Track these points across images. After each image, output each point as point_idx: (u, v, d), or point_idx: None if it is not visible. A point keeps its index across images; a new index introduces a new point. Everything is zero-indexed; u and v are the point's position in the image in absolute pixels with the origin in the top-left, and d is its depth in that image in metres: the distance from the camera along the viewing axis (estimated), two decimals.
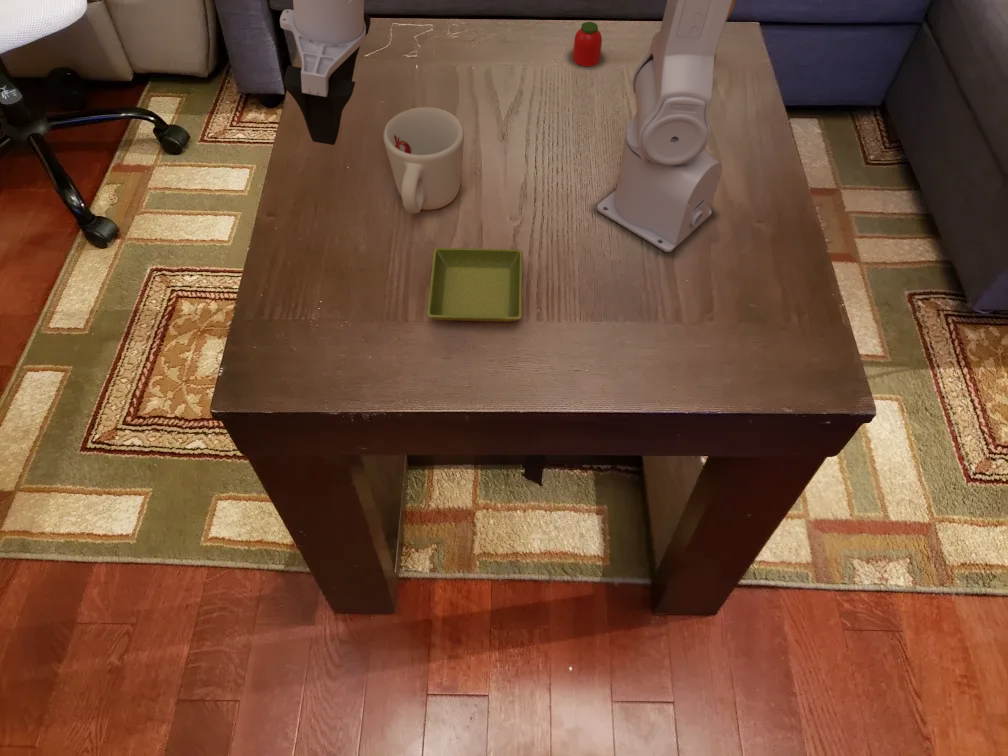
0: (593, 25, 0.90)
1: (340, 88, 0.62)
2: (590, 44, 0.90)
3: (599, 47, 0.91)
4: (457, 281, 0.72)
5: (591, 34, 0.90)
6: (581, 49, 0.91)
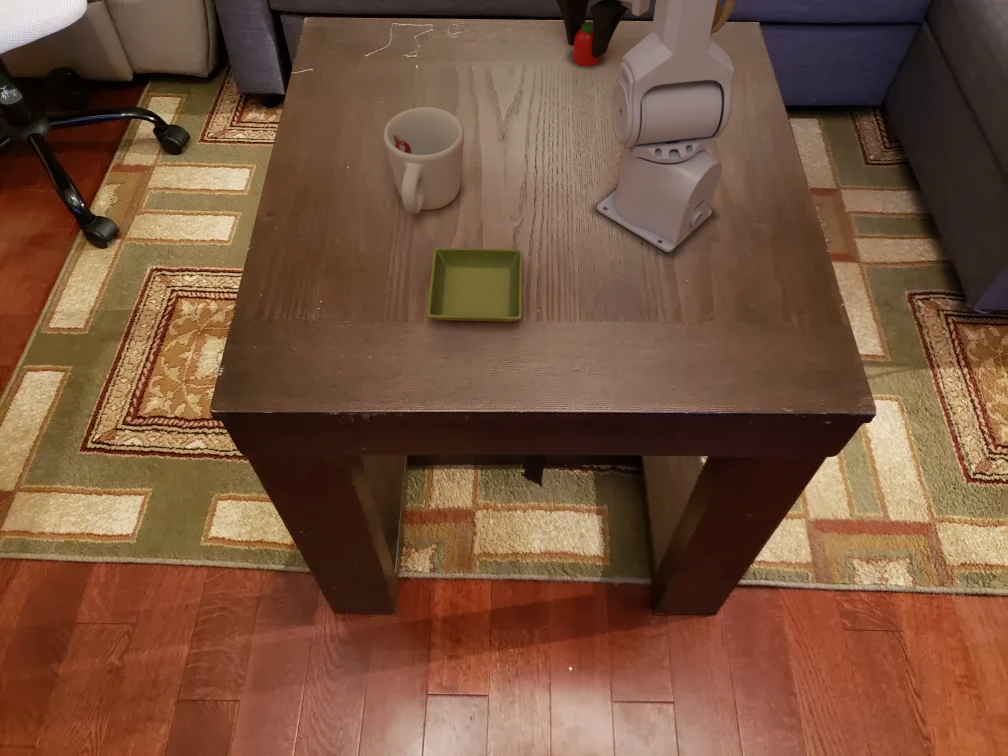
0: None
1: None
2: (590, 44, 0.90)
3: None
4: (457, 281, 0.72)
5: (591, 34, 0.90)
6: (581, 49, 0.91)
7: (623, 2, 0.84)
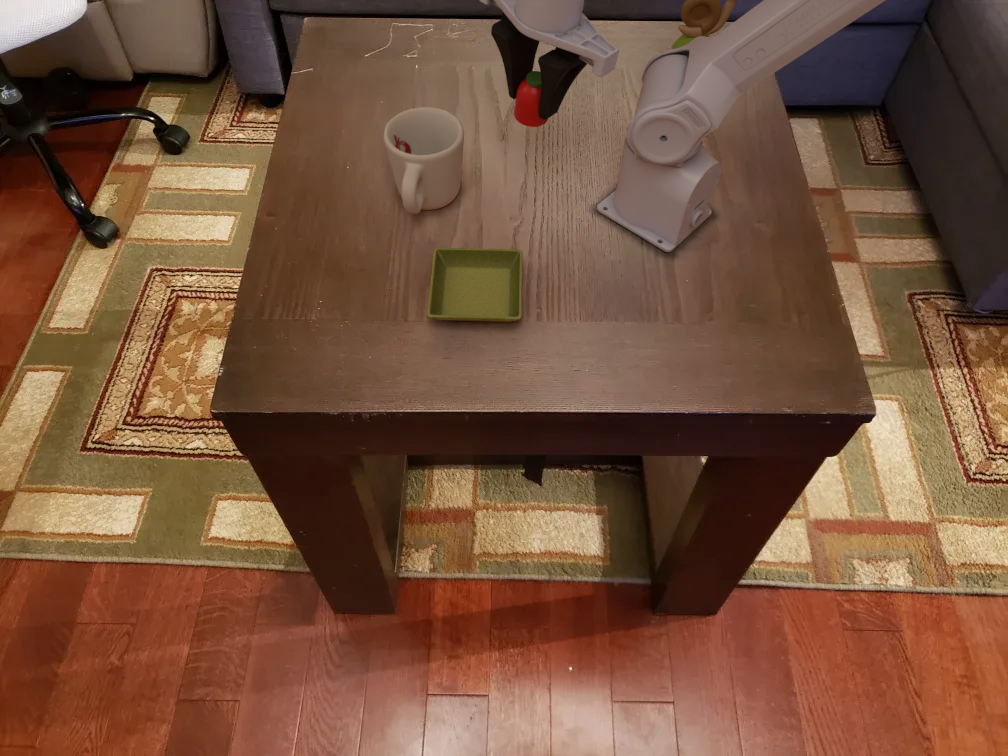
0: None
1: (502, 27, 0.66)
2: (536, 101, 0.69)
3: None
4: (457, 281, 0.72)
5: (539, 88, 0.69)
6: (524, 106, 0.70)
7: (582, 56, 0.63)
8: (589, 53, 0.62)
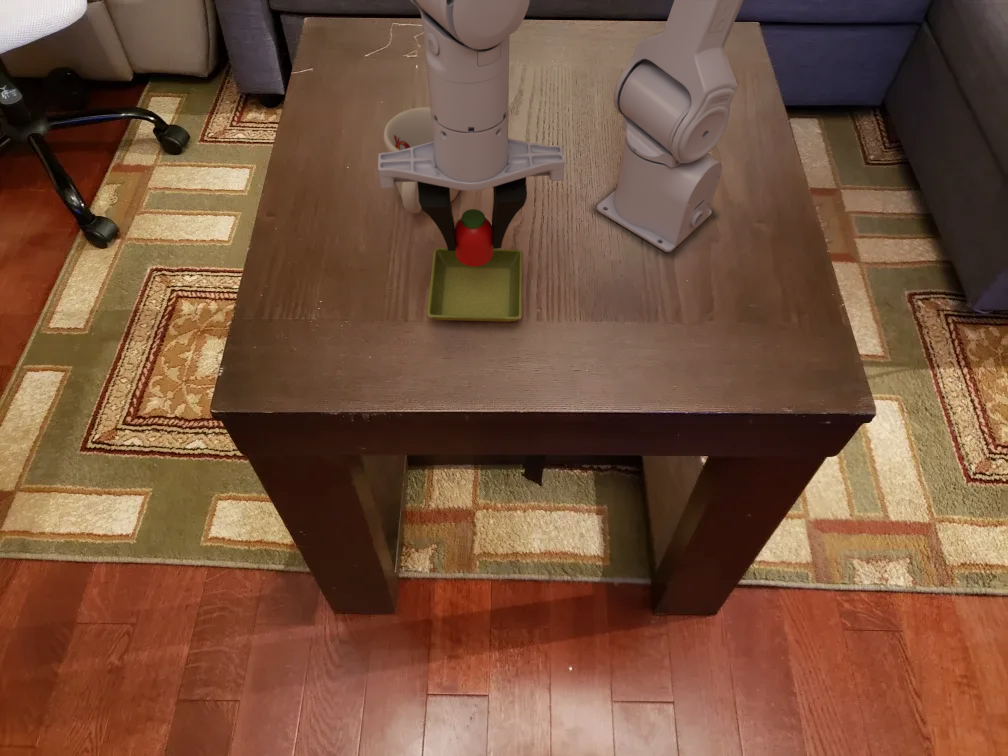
0: (475, 213, 0.63)
1: (430, 197, 0.58)
2: (487, 237, 0.63)
3: None
4: (457, 281, 0.72)
5: (483, 225, 0.63)
6: (478, 249, 0.64)
7: None
8: (546, 166, 0.57)
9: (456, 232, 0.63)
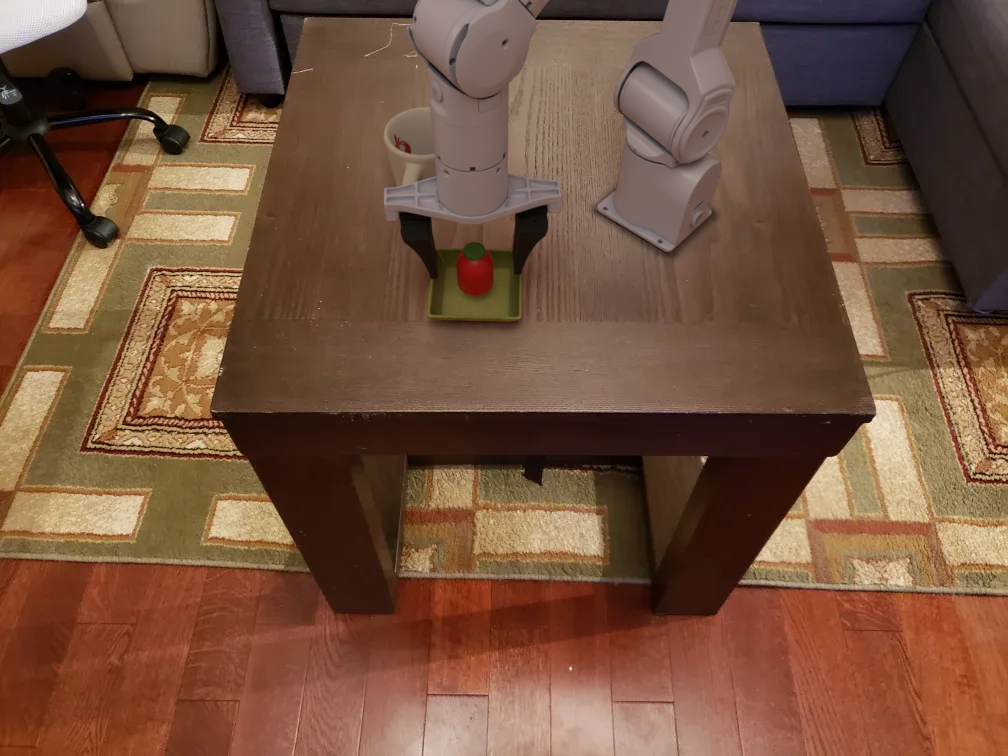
0: (477, 246, 0.66)
1: (411, 231, 0.61)
2: (488, 268, 0.67)
3: None
4: None
5: (483, 257, 0.66)
6: (479, 279, 0.67)
7: None
8: (543, 201, 0.60)
9: (458, 263, 0.67)
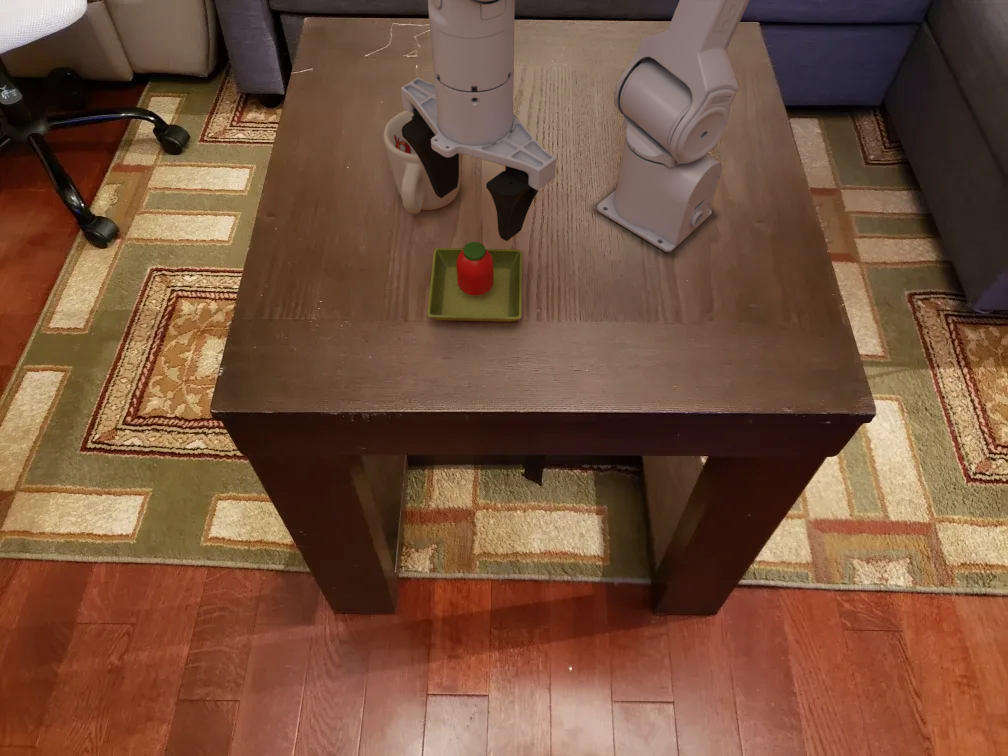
0: (477, 246, 0.66)
1: None
2: (488, 268, 0.67)
3: (493, 263, 0.68)
4: None
5: (483, 257, 0.66)
6: (479, 279, 0.67)
7: None
8: None
9: (458, 263, 0.67)
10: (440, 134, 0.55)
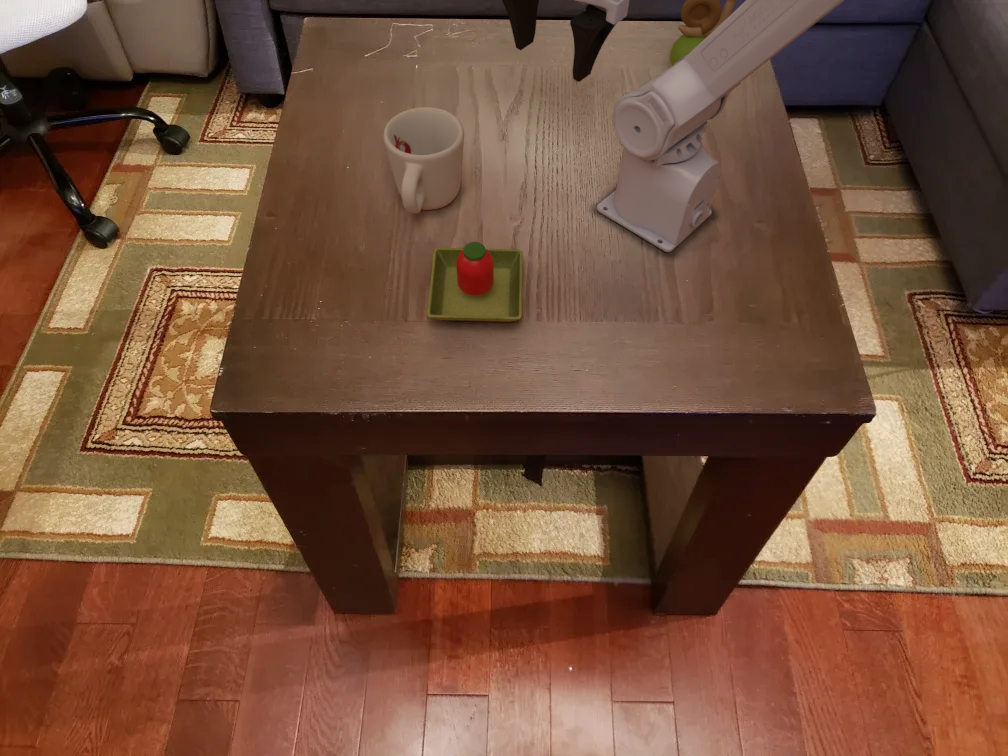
0: (477, 246, 0.66)
1: None
2: (488, 268, 0.67)
3: (493, 263, 0.68)
4: None
5: (483, 257, 0.66)
6: (479, 279, 0.67)
7: None
8: None
9: (458, 263, 0.67)
10: None
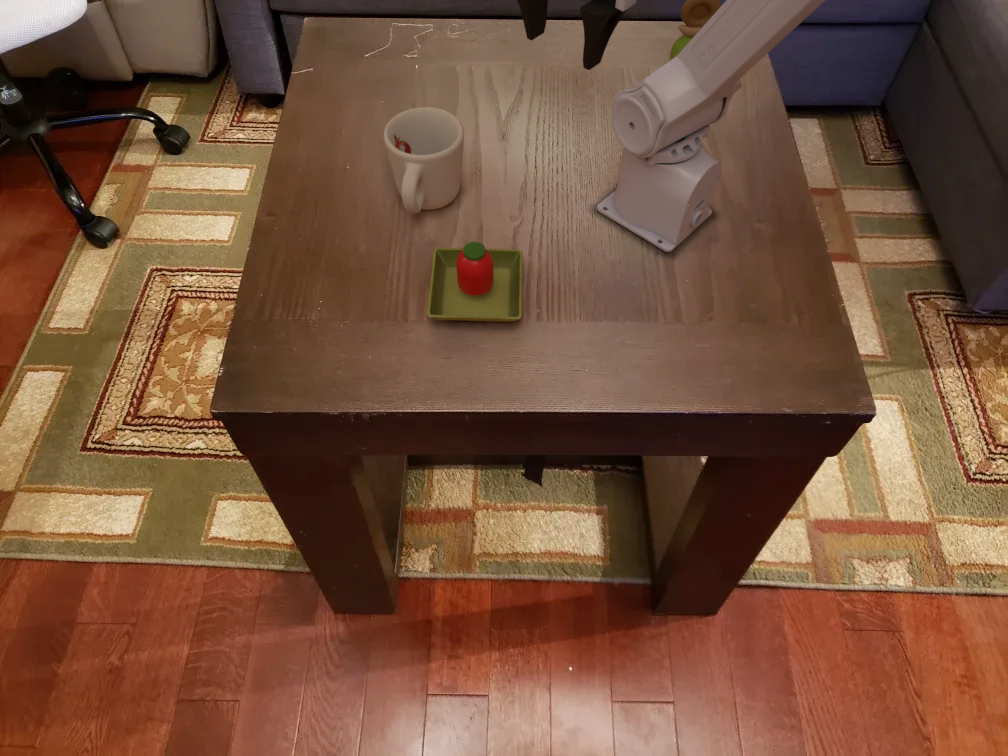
0: (477, 246, 0.66)
1: None
2: (488, 268, 0.67)
3: None
4: None
5: (483, 257, 0.66)
6: (479, 279, 0.67)
7: None
8: None
9: (458, 263, 0.67)
10: None
